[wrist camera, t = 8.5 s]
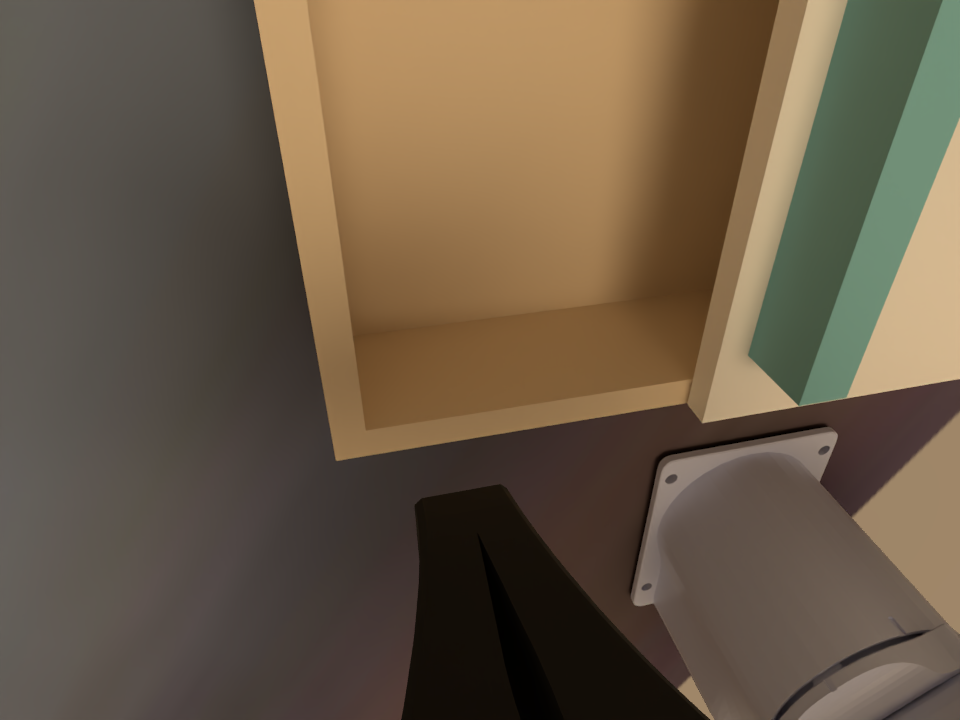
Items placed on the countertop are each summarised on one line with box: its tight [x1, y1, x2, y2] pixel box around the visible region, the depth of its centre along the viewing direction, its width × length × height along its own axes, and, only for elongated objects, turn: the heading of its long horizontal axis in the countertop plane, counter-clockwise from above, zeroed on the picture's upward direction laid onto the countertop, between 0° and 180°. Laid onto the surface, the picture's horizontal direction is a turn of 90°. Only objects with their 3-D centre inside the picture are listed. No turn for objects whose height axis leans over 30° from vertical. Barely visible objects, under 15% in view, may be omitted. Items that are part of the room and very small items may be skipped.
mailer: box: [254, 0, 779, 461], centre depth 16 cm, size 14×20×5 cm
